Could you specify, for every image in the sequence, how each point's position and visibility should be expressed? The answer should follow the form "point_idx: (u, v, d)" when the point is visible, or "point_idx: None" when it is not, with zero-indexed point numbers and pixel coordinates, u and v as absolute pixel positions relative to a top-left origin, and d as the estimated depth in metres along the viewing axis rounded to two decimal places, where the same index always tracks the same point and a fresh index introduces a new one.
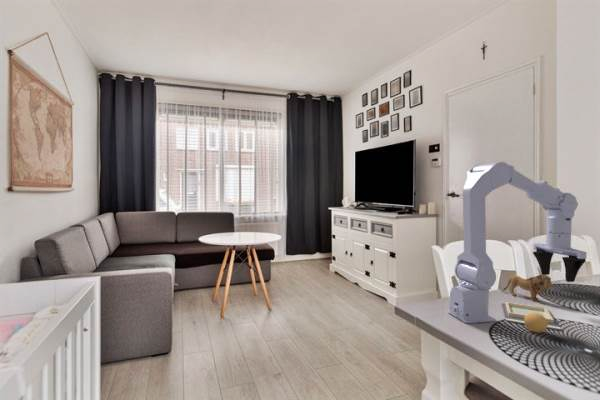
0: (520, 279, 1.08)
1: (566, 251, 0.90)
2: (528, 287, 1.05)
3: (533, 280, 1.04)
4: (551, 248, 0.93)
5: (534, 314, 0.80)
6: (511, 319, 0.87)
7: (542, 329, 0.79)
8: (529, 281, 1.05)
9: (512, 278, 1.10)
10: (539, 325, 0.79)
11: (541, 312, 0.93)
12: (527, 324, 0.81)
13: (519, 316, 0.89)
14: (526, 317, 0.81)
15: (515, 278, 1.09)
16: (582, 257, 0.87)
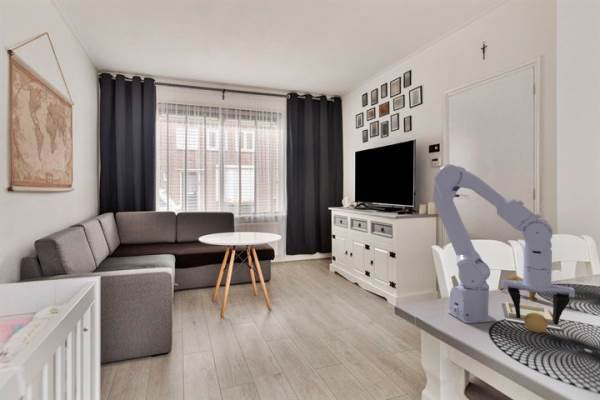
0: (519, 279, 1.08)
1: (558, 290, 0.77)
2: None
3: None
4: (541, 288, 0.78)
5: (534, 314, 0.80)
6: (511, 319, 0.87)
7: (542, 329, 0.79)
8: None
9: (511, 278, 1.10)
10: (539, 325, 0.79)
11: (541, 312, 0.93)
12: (527, 324, 0.81)
13: None
14: (526, 317, 0.81)
15: (514, 278, 1.09)
16: None
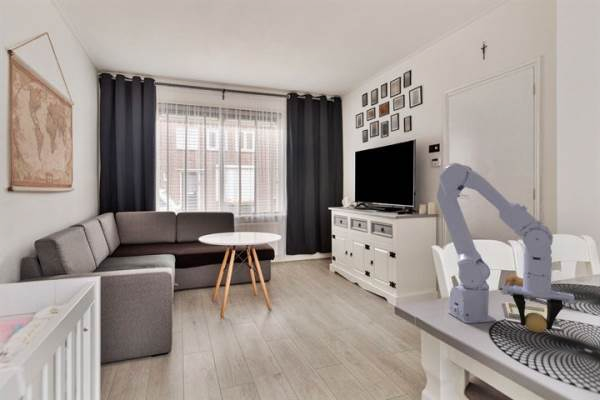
0: (518, 278, 1.08)
1: (558, 296, 0.77)
2: None
3: None
4: (541, 294, 0.78)
5: (534, 314, 0.80)
6: (511, 319, 0.87)
7: (542, 329, 0.79)
8: None
9: (510, 278, 1.11)
10: (539, 325, 0.79)
11: (541, 312, 0.93)
12: (527, 324, 0.81)
13: (519, 316, 0.89)
14: (526, 317, 0.81)
15: (513, 277, 1.10)
16: None
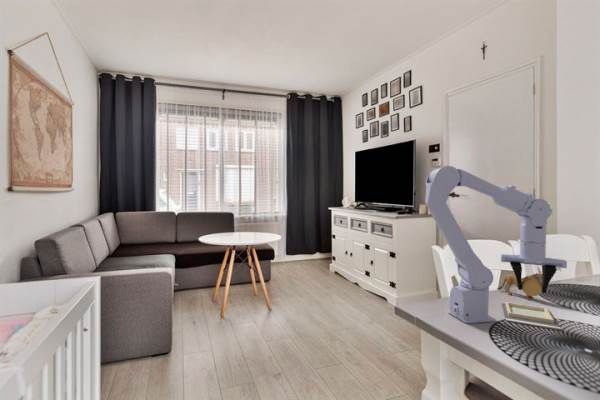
0: None
1: (551, 262, 0.84)
2: None
3: None
4: (536, 260, 0.85)
5: (530, 279, 0.87)
6: (511, 319, 0.87)
7: (537, 292, 0.85)
8: None
9: (508, 277, 1.11)
10: (534, 288, 0.85)
11: (541, 312, 0.93)
12: (523, 288, 0.87)
13: (519, 316, 0.89)
14: (523, 282, 0.88)
15: (511, 277, 1.10)
16: None
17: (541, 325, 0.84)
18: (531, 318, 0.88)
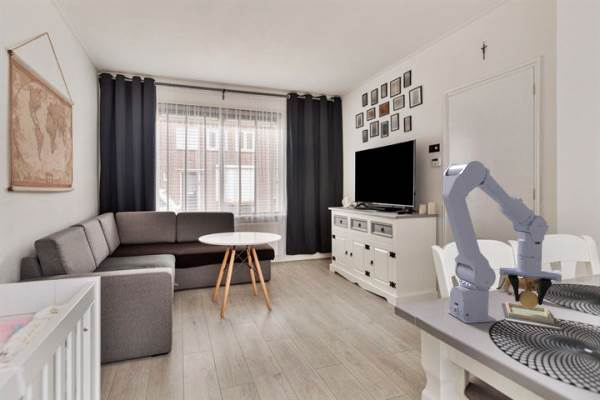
0: None
1: (547, 275, 0.88)
2: (523, 285, 1.06)
3: (528, 278, 1.05)
4: (532, 274, 0.89)
5: (527, 292, 0.91)
6: (511, 319, 0.87)
7: (534, 304, 0.90)
8: (524, 279, 1.07)
9: (507, 277, 1.11)
10: (531, 300, 0.90)
11: (541, 312, 0.93)
12: (521, 300, 0.92)
13: (519, 316, 0.89)
14: (520, 294, 0.92)
15: None
16: None
17: (541, 325, 0.84)
18: (531, 318, 0.88)
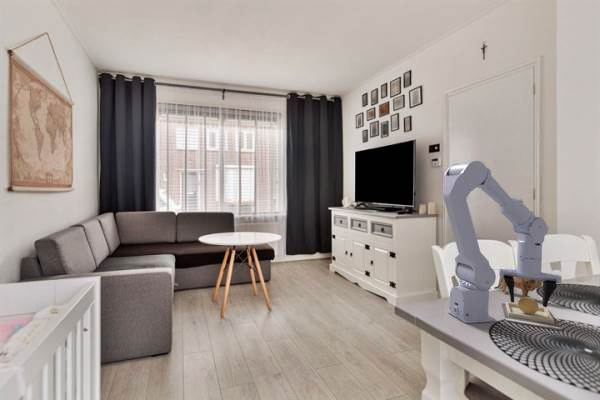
0: None
1: (547, 277, 0.88)
2: (520, 285, 1.07)
3: None
4: (532, 275, 0.89)
5: (527, 298, 0.92)
6: (511, 319, 0.87)
7: (533, 311, 0.90)
8: (521, 279, 1.07)
9: None
10: (531, 307, 0.90)
11: (541, 312, 0.93)
12: (520, 307, 0.92)
13: (519, 316, 0.89)
14: (520, 301, 0.92)
15: None
16: None
17: (541, 325, 0.84)
18: (531, 318, 0.88)
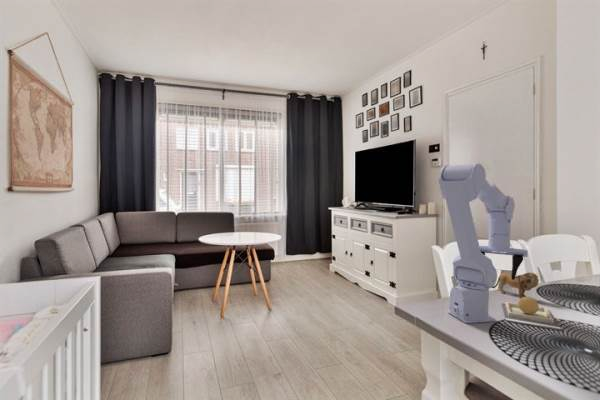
0: (509, 277, 1.10)
1: (514, 251, 0.95)
2: (516, 284, 1.08)
3: (521, 278, 1.06)
4: (501, 250, 0.96)
5: (527, 298, 0.91)
6: (511, 319, 0.87)
7: (533, 311, 0.90)
8: (517, 279, 1.08)
9: (501, 276, 1.13)
10: (531, 307, 0.90)
11: (541, 312, 0.93)
12: (521, 307, 0.92)
13: (519, 316, 0.89)
14: (520, 301, 0.92)
15: (504, 276, 1.12)
16: None
17: (541, 325, 0.84)
18: (531, 318, 0.88)
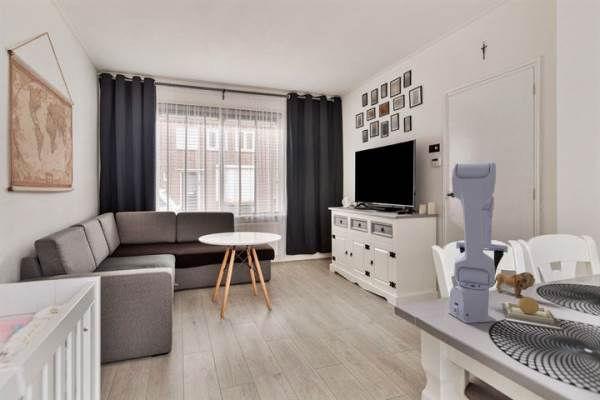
0: (505, 276, 1.11)
1: (495, 247, 1.00)
2: (512, 284, 1.08)
3: (517, 277, 1.07)
4: (483, 246, 1.01)
5: (527, 298, 0.91)
6: (511, 319, 0.87)
7: (534, 311, 0.90)
8: (513, 278, 1.08)
9: (498, 275, 1.13)
10: (531, 307, 0.90)
11: (541, 312, 0.93)
12: (521, 306, 0.92)
13: (519, 316, 0.89)
14: (520, 300, 0.92)
15: (501, 275, 1.12)
16: (507, 250, 1.00)
17: (541, 325, 0.84)
18: (531, 318, 0.88)
